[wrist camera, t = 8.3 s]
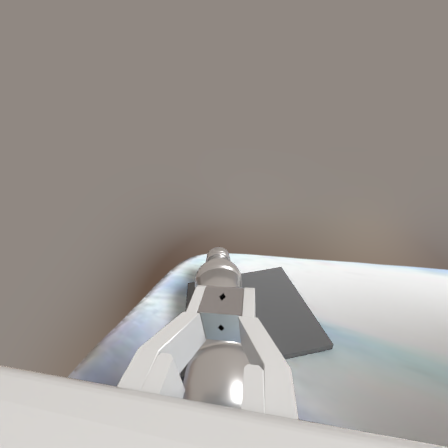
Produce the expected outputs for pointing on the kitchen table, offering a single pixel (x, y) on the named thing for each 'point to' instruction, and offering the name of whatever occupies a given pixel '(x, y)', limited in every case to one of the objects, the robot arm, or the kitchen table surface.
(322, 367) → the kitchen table surface
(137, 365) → the robot arm
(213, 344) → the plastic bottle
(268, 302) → the mat
